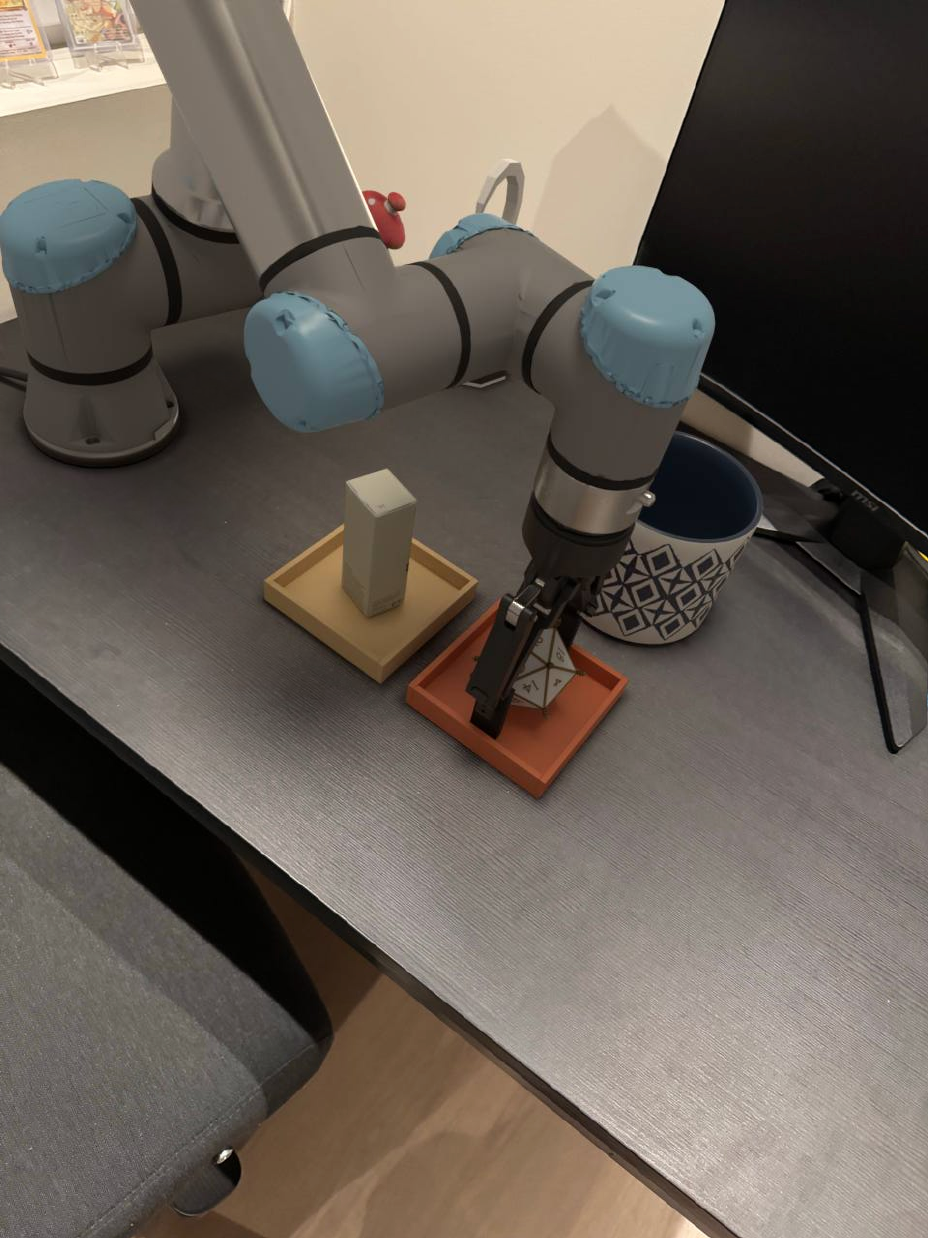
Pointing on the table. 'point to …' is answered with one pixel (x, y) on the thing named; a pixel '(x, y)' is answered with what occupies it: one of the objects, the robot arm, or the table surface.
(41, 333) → the robot arm
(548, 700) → the game die
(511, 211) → the hook
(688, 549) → the planter
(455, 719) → the terracotta tray
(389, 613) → the birch tray
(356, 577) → the box
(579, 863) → the table surface
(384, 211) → the decorative ornament
